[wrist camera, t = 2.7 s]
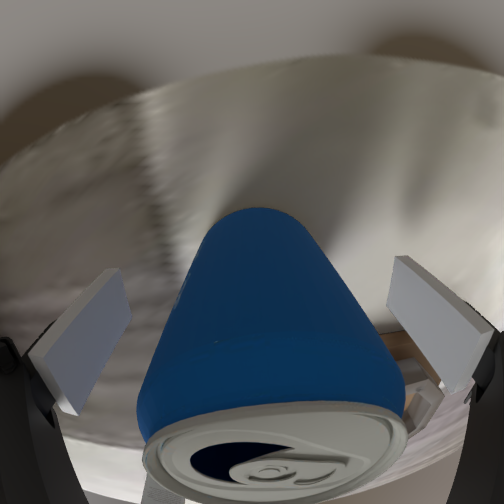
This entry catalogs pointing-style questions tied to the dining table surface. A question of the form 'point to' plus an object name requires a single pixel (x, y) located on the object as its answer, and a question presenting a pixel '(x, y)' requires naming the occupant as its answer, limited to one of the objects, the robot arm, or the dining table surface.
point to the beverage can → (268, 375)
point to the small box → (159, 494)
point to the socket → (415, 381)
